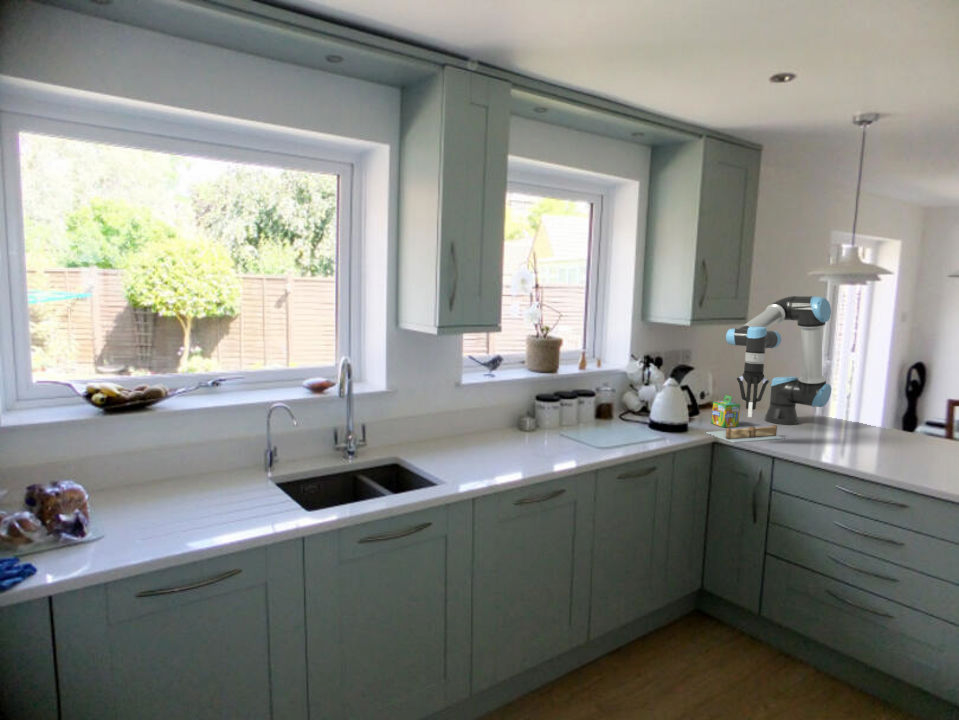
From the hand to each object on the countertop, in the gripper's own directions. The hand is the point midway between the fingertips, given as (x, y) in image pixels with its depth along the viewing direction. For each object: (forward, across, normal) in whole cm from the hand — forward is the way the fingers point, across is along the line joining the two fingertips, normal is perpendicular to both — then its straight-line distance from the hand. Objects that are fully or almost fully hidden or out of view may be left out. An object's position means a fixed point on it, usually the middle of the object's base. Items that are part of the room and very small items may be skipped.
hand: (750, 416), depth 254 cm
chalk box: (+12, -15, +30) cm, 36 cm away
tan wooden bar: (+11, -5, +4) cm, 13 cm away
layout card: (+12, -3, +13) cm, 18 cm away
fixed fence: (+11, +4, +15) cm, 19 cm away
